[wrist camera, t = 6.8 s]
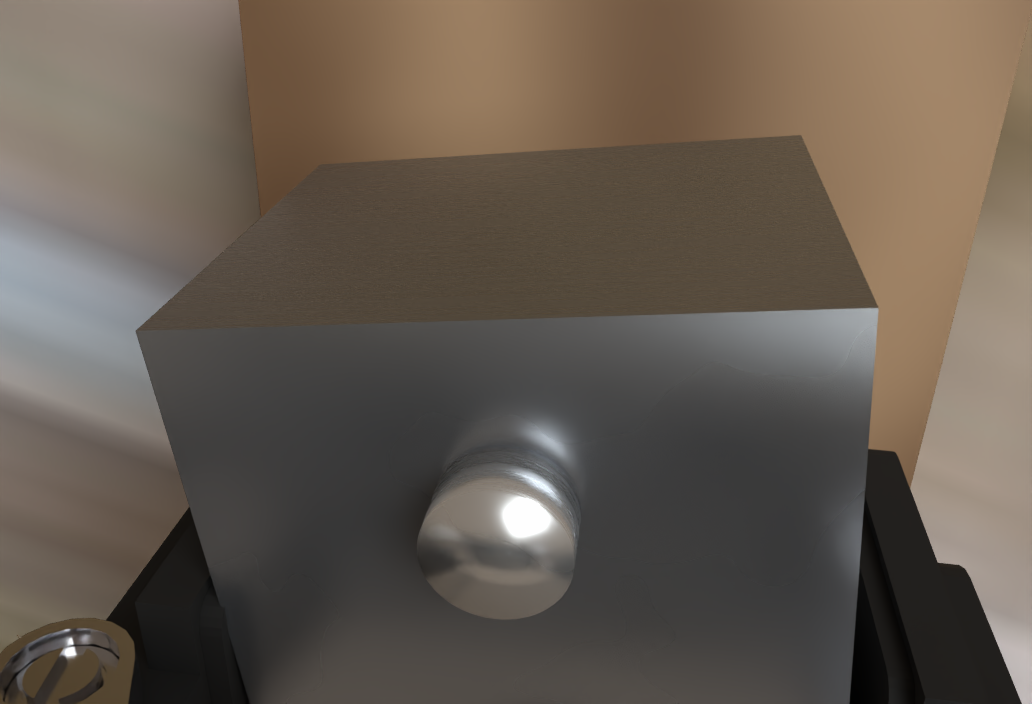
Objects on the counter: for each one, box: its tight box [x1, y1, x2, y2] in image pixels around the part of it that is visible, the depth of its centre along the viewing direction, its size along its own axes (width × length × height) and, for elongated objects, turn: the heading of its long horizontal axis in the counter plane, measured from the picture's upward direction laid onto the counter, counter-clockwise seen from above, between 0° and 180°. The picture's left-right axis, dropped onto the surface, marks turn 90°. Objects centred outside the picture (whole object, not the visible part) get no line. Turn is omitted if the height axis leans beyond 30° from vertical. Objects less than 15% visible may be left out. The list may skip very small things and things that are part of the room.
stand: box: [238, 0, 1032, 487], centre depth 19 cm, size 12×12×5 cm
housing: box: [136, 135, 879, 704], centre depth 11 cm, size 9×6×5 cm, turn 6°
